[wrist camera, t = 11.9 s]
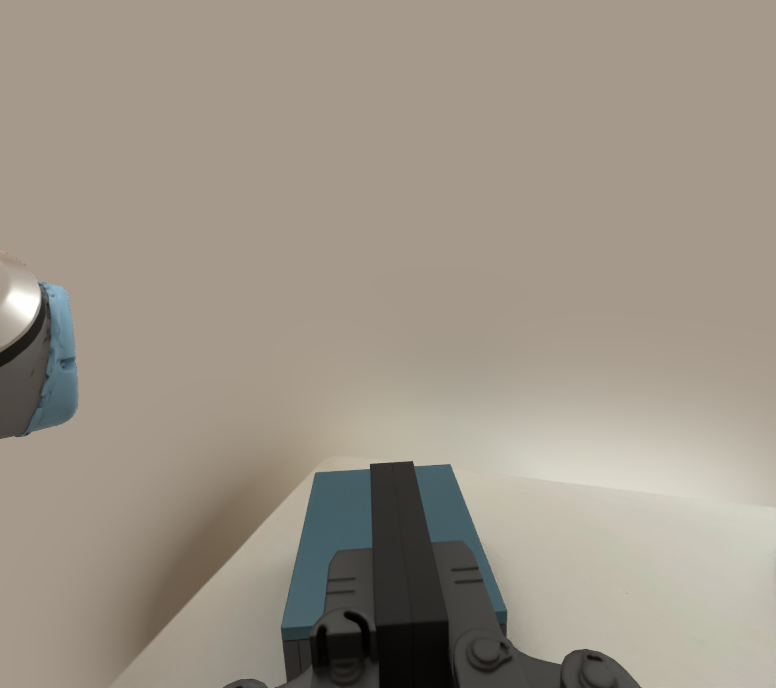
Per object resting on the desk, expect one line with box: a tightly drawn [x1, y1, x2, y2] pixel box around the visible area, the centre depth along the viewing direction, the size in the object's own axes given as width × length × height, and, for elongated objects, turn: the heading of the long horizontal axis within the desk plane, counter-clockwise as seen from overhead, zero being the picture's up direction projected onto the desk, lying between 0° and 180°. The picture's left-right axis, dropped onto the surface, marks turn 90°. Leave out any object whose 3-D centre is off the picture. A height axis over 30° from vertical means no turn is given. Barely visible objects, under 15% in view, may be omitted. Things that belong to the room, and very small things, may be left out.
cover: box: [281, 464, 507, 641], centre depth 30 cm, size 15×12×1 cm
